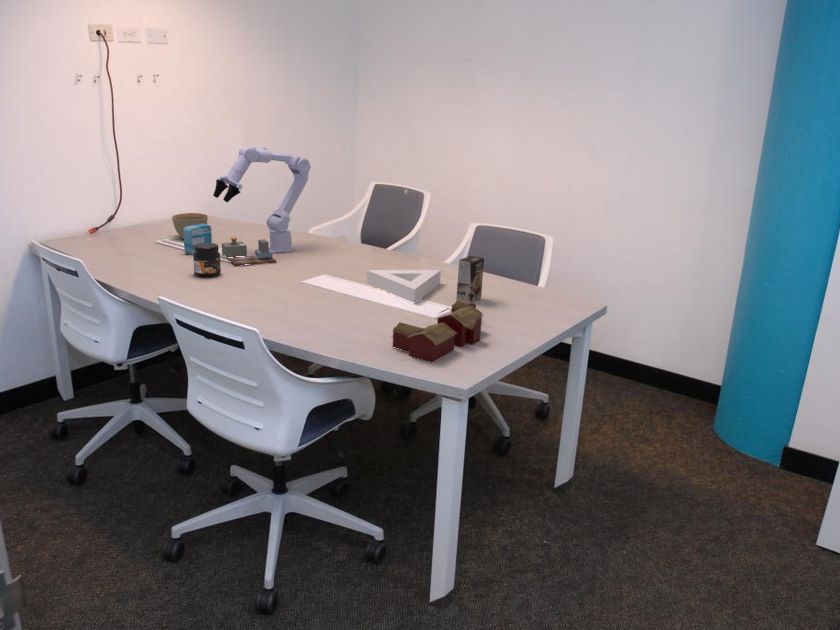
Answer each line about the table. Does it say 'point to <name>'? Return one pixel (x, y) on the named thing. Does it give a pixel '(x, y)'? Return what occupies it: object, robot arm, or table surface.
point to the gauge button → (233, 240)
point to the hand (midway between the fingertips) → (220, 199)
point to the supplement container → (206, 260)
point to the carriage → (263, 250)
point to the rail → (250, 260)
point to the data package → (196, 236)
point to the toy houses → (440, 333)
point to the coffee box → (470, 279)
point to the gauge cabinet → (234, 249)
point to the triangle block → (405, 282)
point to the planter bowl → (188, 221)
